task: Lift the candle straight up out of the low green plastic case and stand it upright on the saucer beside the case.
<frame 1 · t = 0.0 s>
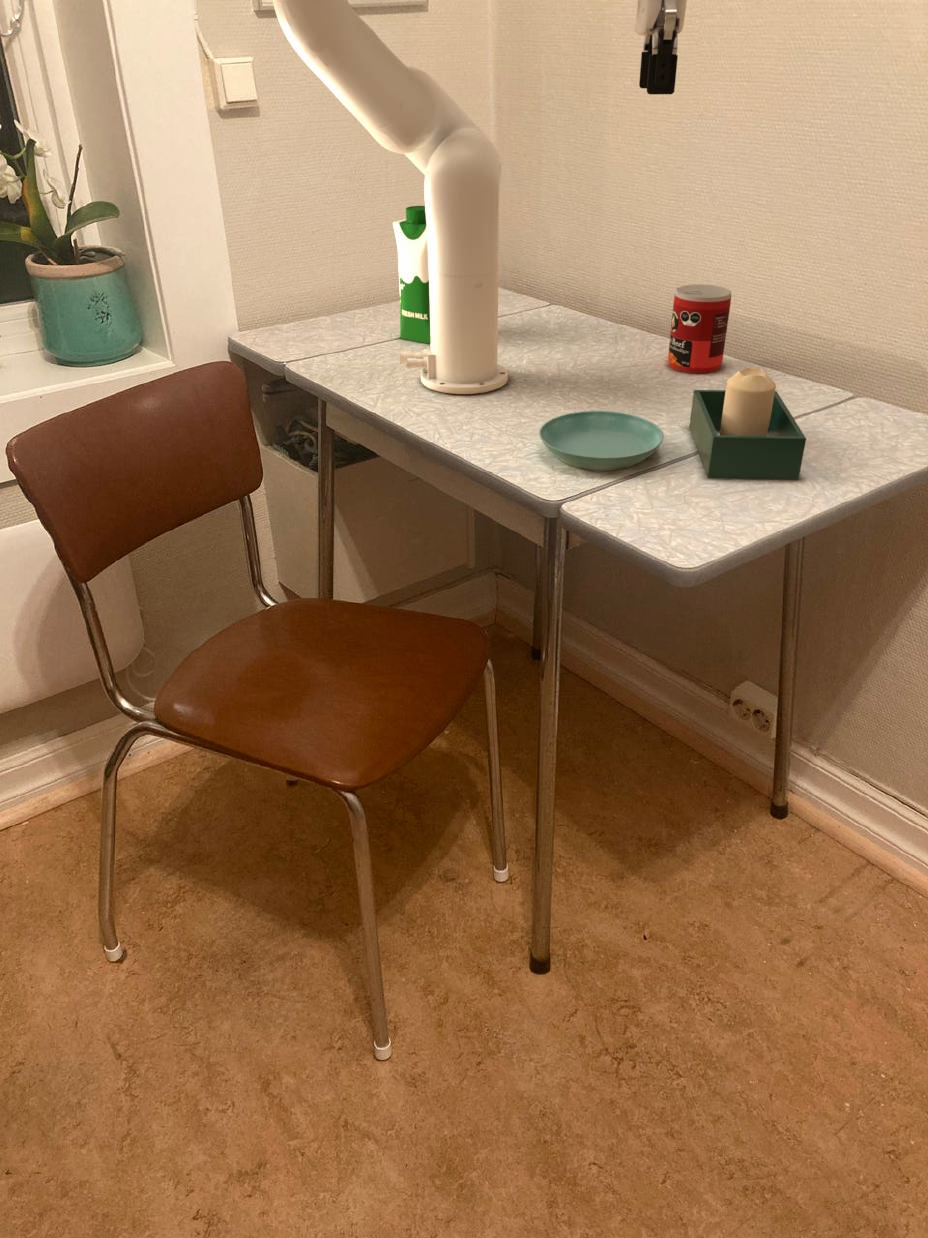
hand: (655, 90, 118), 37 cm above the table, tool pointing down, fingers open, 9 cm apart
candle: (740, 453, 116), resting in case
saucer: (599, 454, 116), on the table
milk carton: (430, 337, 158), on the table
case: (740, 452, 116), on the table
canned food: (694, 367, 144), on the table
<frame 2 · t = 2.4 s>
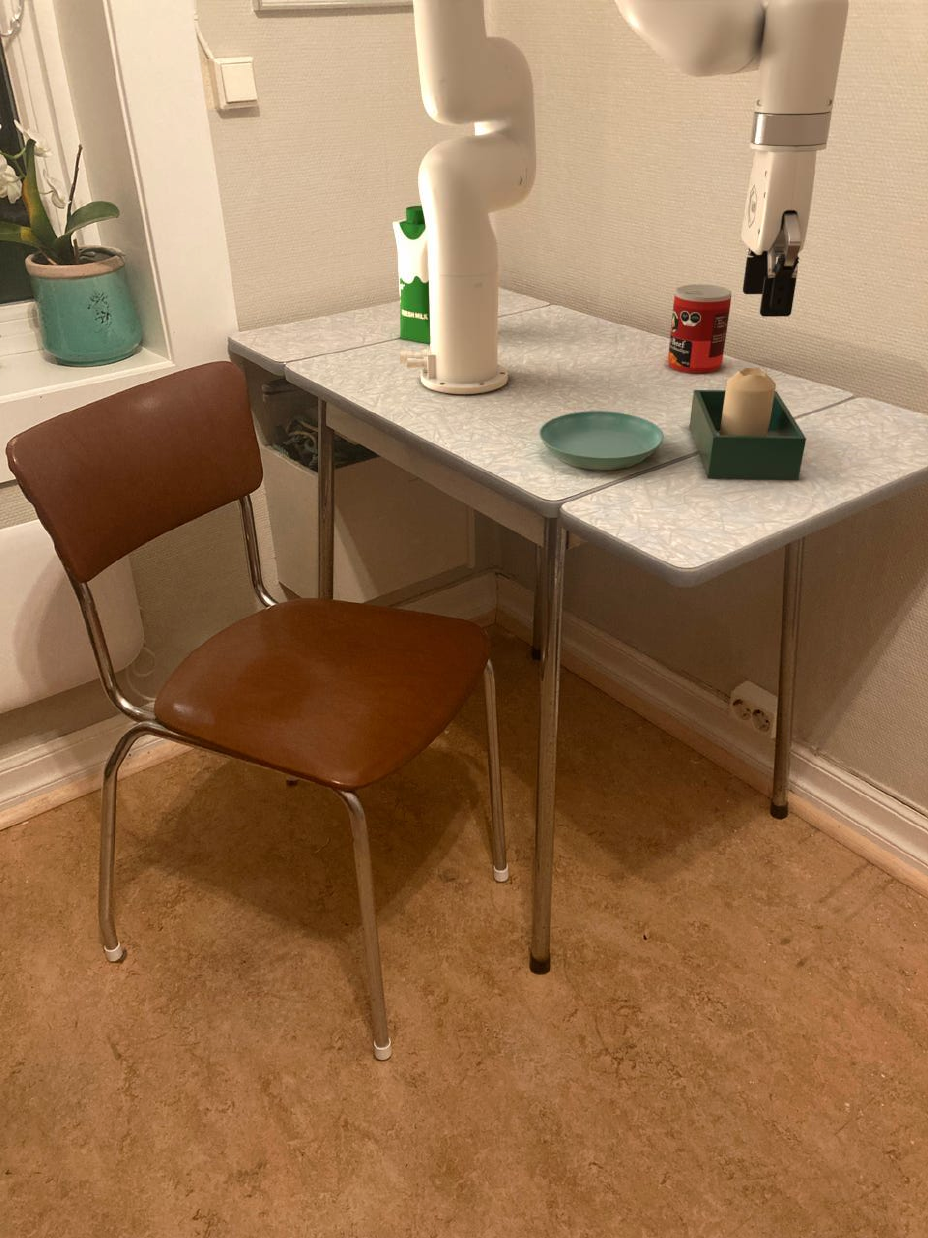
hand: (765, 304, 107), 18 cm above the table, tool pointing down, fingers open, 9 cm apart
nothing on the table moved.
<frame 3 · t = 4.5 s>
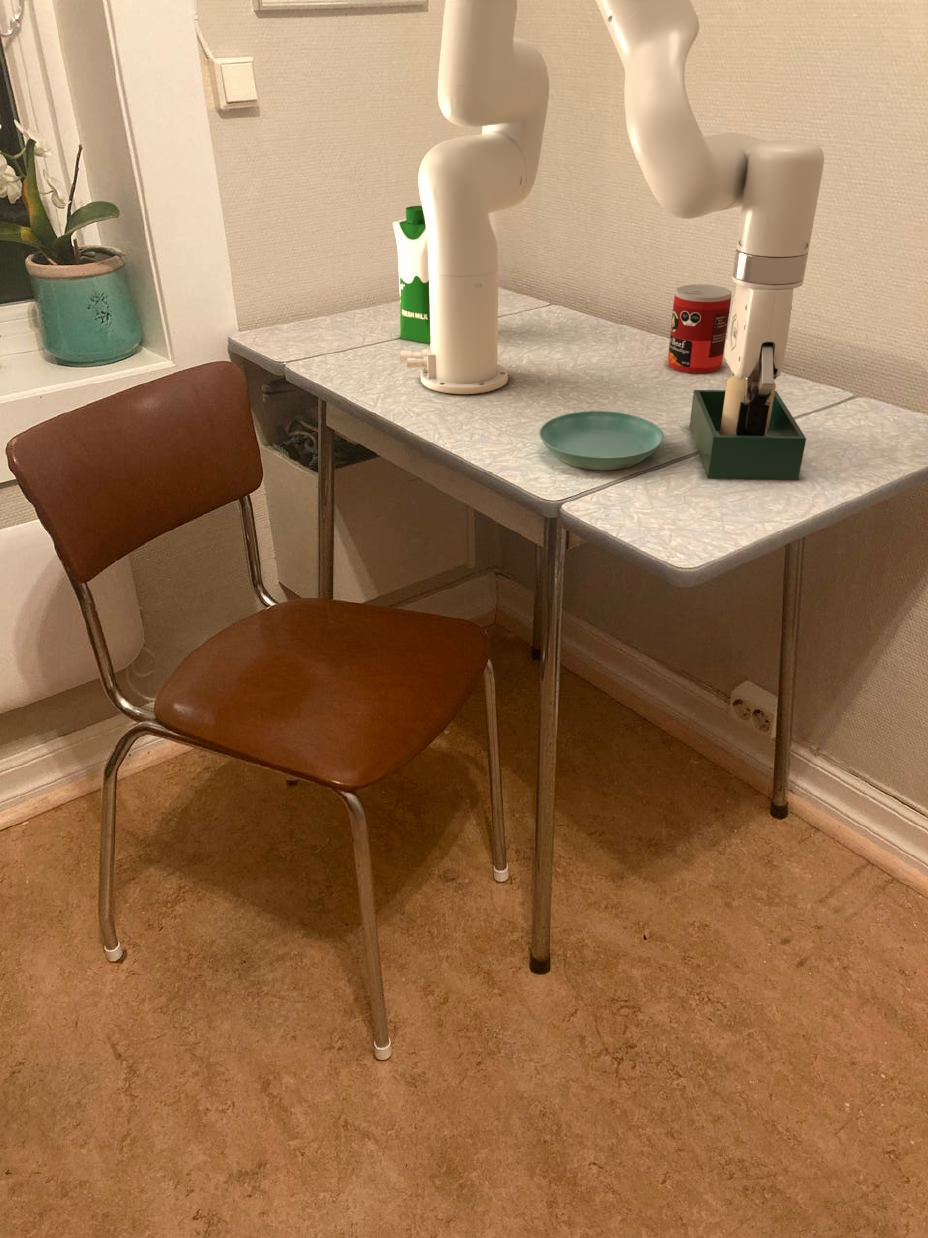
hand: (744, 424, 114), 4 cm above the table, tool pointing down, fingers closed on candle, 5 cm apart
candle: (740, 453, 116), resting in case, touching gripper
everything else where it was.
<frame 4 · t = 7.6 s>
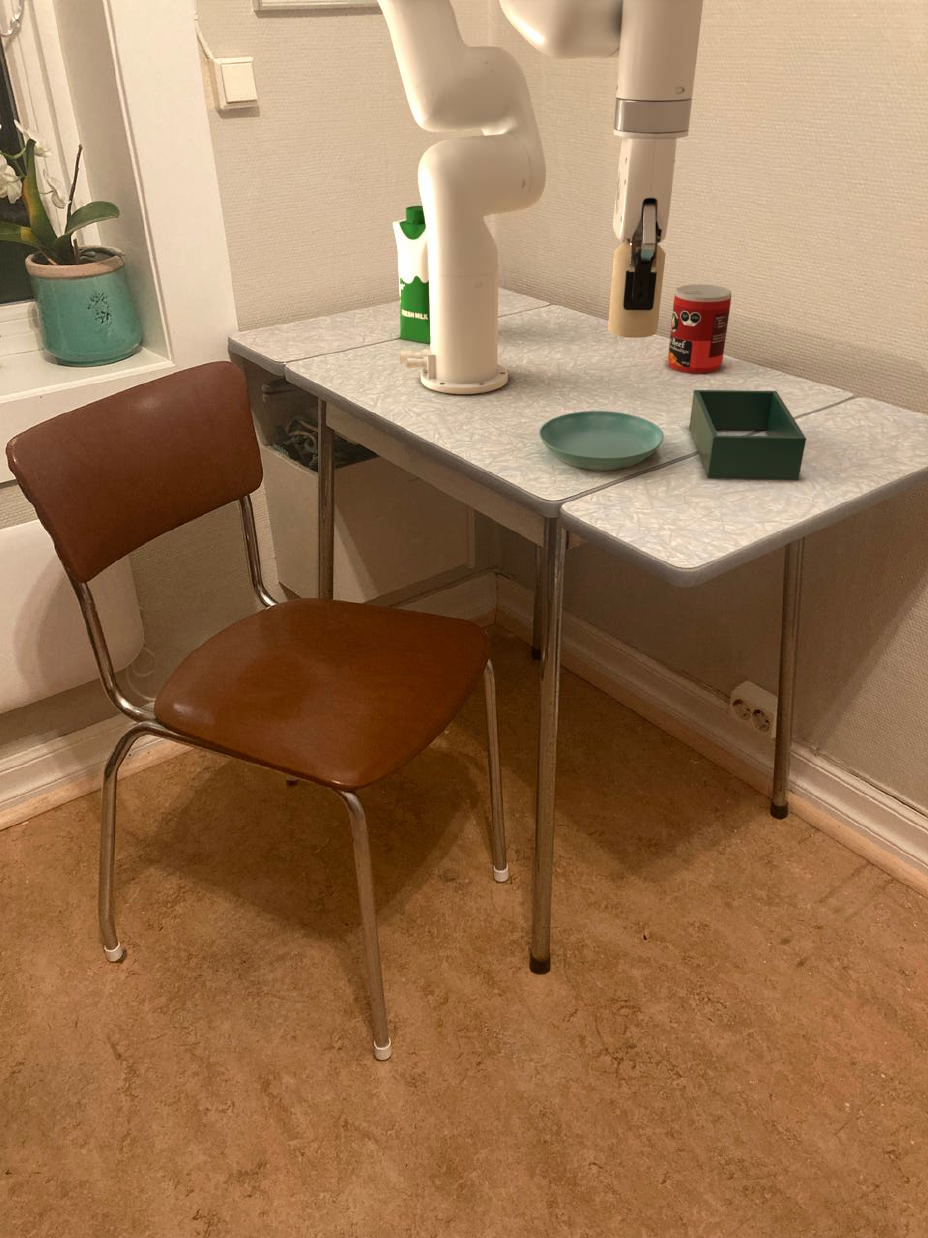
hand: (635, 299, 107), 18 cm above the table, tool pointing down, fingers closed on candle, 5 cm apart
candle: (632, 332, 109), point 14 cm above the table, touching gripper
everything else where it was.
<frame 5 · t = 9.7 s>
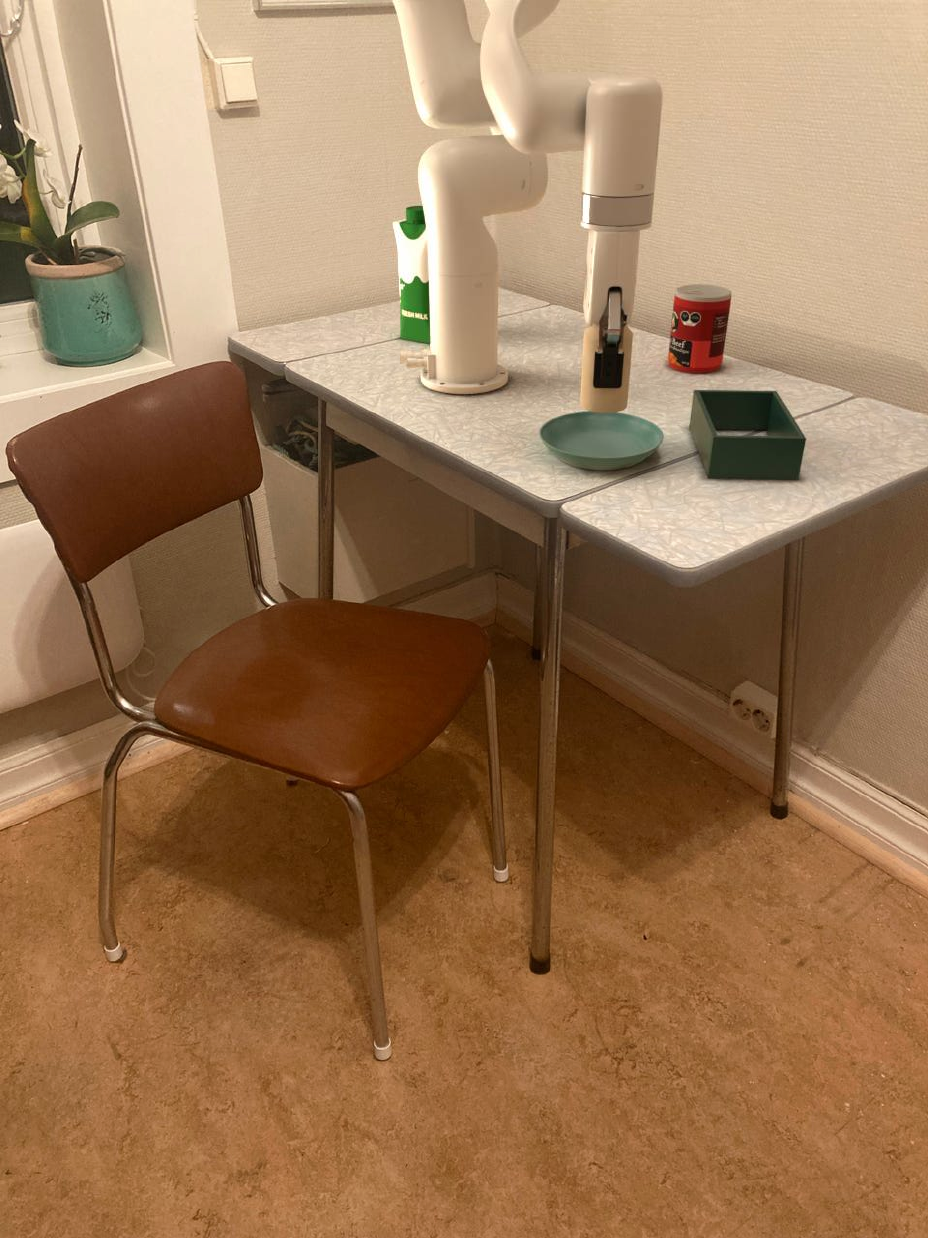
hand: (605, 376, 111), 9 cm above the table, tool pointing down, fingers closed on candle, 5 cm apart
candle: (603, 407, 113), point 6 cm above the table, touching gripper
everything else where it was.
when the fingers open (6 cm above the table, at t = 11.0 s): candle stays where it is, resting on saucer.
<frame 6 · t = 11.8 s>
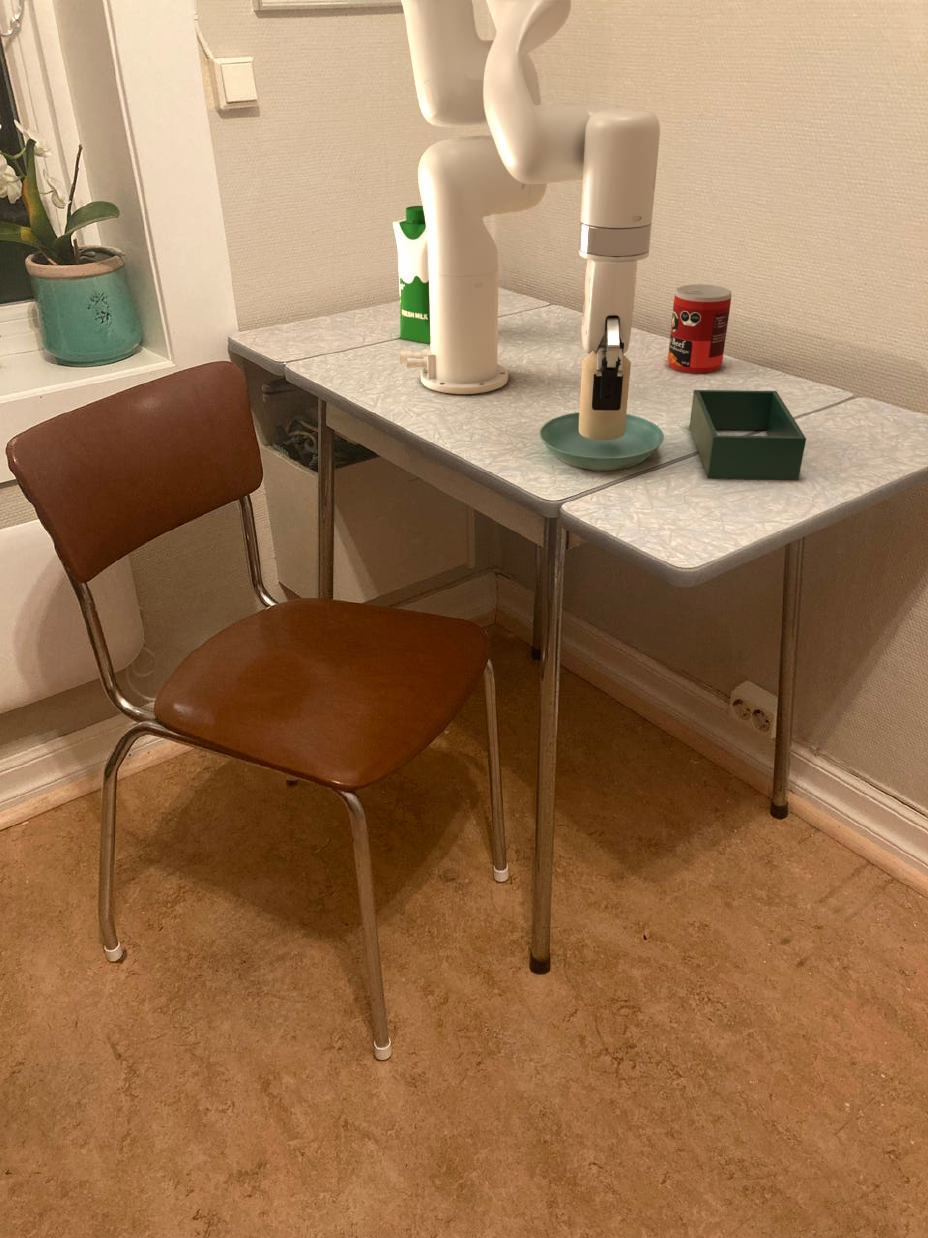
hand: (603, 394, 112), 7 cm above the table, tool pointing down, fingers open, 9 cm apart
candle: (601, 433, 115), point 2 cm above the table, touching saucer
saucer: (599, 454, 116), on the table, touching candle
everything else where it was.
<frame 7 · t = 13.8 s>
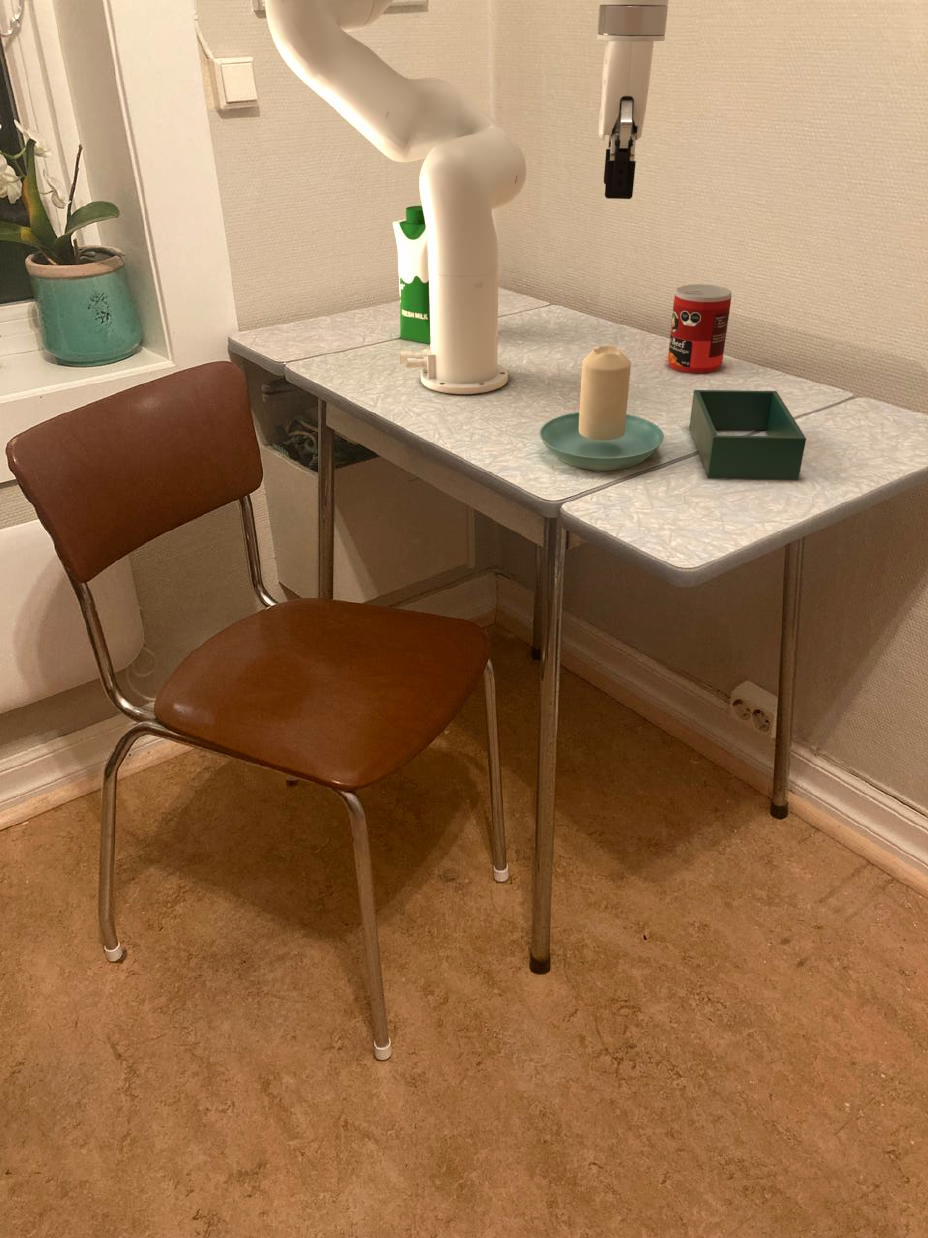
hand: (617, 190, 116), 27 cm above the table, tool pointing down, fingers open, 9 cm apart
nothing on the table moved.
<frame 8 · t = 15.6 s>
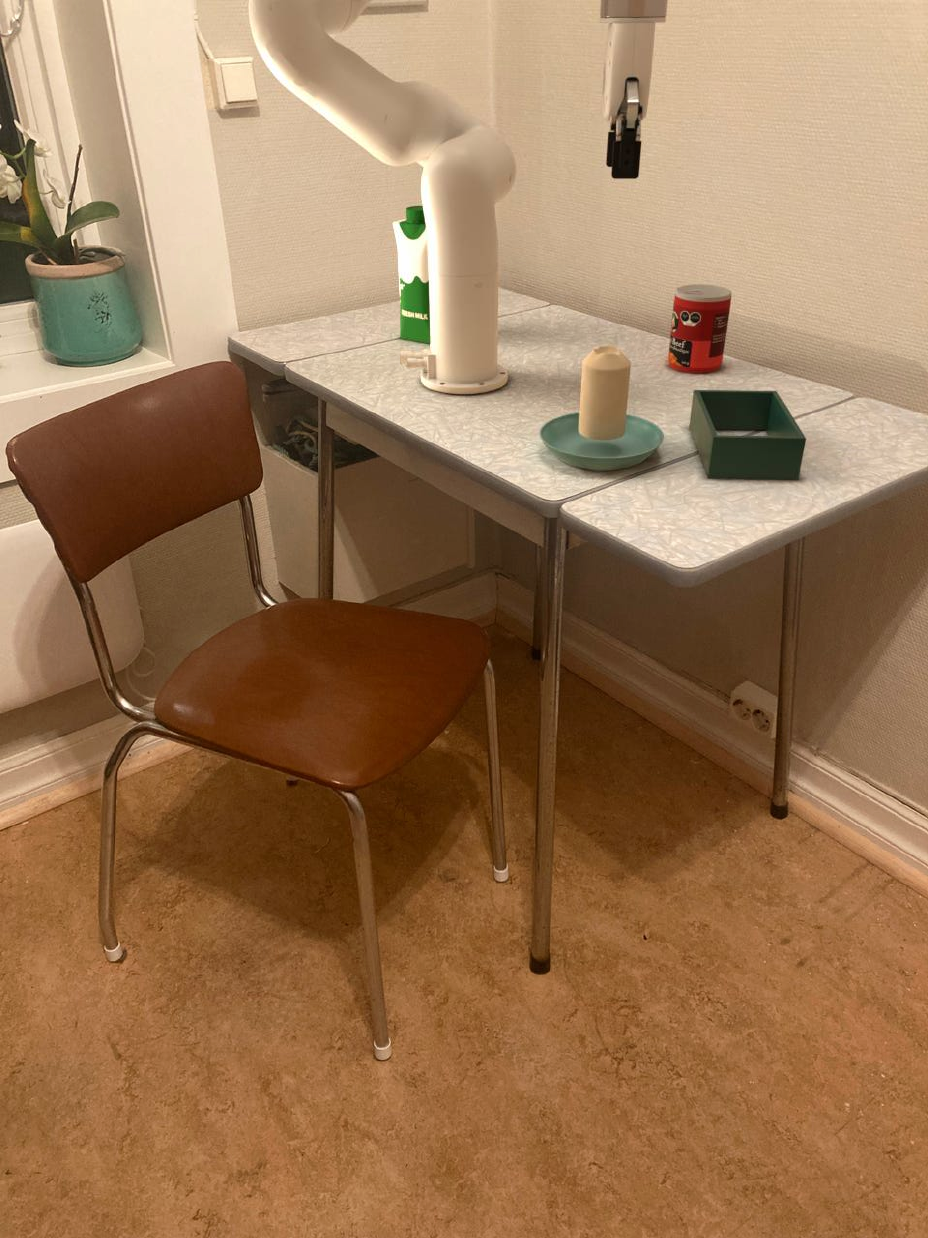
hand: (621, 172, 119), 28 cm above the table, tool pointing down, fingers open, 9 cm apart
nothing on the table moved.
at the end: candle touching saucer; candle 0.0 cm from the saucer (horizontally); candle tilted 0° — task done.
